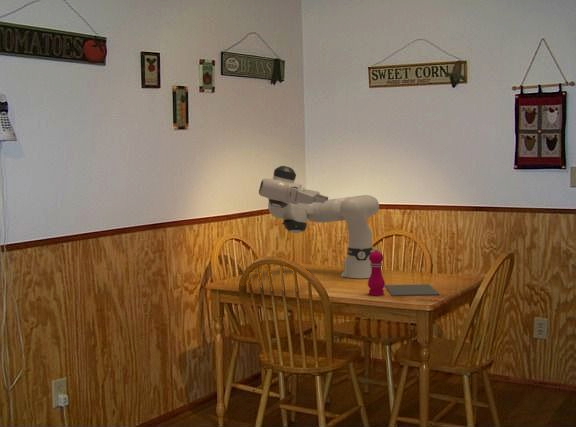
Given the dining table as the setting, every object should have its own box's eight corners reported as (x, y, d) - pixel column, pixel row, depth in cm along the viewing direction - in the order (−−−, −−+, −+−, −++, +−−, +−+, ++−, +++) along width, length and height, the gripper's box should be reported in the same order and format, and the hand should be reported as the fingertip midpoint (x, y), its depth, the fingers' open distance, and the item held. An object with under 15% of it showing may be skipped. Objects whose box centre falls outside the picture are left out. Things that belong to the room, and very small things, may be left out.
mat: (384, 286, 354) (384, 285, 354) (429, 285, 354) (429, 284, 354) (392, 296, 332) (392, 294, 332) (439, 295, 332) (439, 293, 332)
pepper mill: (370, 296, 333) (370, 249, 331) (365, 293, 340) (365, 247, 338) (387, 295, 334) (386, 248, 332) (381, 292, 341) (381, 246, 339)
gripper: (298, 198, 352) (328, 204, 350) (289, 203, 332) (321, 209, 330) (300, 184, 351) (331, 190, 349) (292, 188, 331) (324, 195, 329)
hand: (326, 200), depth 339 cm, fingers open, 8 cm apart
